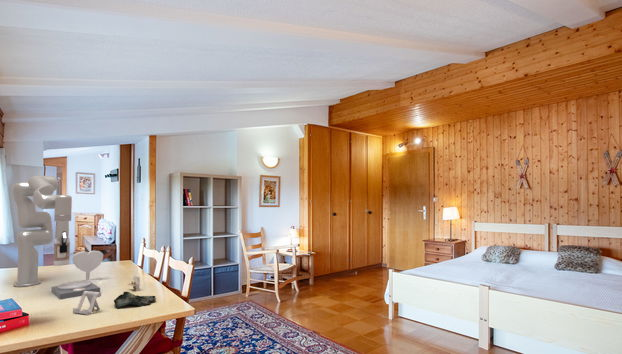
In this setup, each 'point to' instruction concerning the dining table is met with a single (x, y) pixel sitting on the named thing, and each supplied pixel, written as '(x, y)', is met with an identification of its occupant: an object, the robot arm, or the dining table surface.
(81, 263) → the heart sculpture
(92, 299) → the portable electronic device stand
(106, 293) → the dining table surface
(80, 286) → the dial scale
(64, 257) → the bath foam
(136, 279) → the architectural model
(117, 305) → the decorative rock
